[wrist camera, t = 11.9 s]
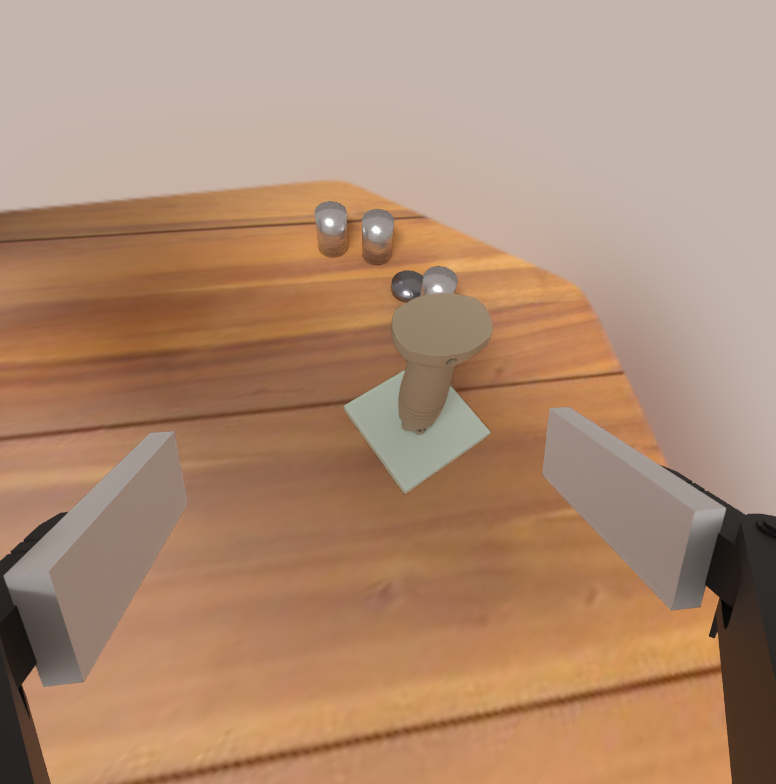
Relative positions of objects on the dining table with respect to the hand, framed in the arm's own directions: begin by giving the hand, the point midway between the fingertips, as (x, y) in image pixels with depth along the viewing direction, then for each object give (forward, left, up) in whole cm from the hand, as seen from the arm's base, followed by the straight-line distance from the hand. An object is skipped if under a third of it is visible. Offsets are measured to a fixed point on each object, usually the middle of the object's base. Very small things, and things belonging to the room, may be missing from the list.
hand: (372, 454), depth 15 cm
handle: (-7, +10, -22) cm, 26 cm away
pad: (-7, +10, -23) cm, 26 cm away
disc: (-21, +20, -24) cm, 37 cm away
